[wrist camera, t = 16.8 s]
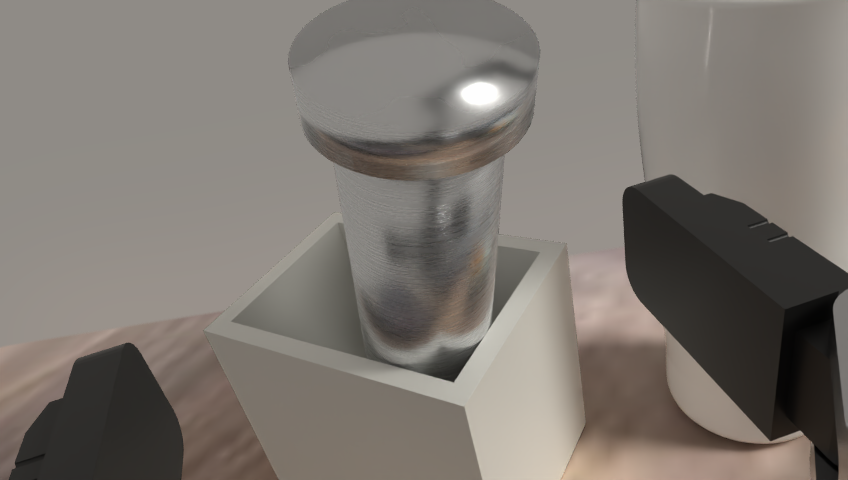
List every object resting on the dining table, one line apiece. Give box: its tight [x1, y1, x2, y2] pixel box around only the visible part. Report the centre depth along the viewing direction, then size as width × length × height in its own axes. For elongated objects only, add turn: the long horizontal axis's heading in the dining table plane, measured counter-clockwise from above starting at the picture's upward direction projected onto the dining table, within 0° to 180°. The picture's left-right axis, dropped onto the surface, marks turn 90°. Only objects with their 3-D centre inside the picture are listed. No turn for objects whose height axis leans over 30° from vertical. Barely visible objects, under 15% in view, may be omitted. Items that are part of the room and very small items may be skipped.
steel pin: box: [288, 0, 540, 382], centre depth 18 cm, size 5×5×15 cm
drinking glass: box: [635, 0, 848, 444], centre depth 20 cm, size 7×7×15 cm
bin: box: [203, 212, 586, 480], centre depth 22 cm, size 7×9×8 cm
